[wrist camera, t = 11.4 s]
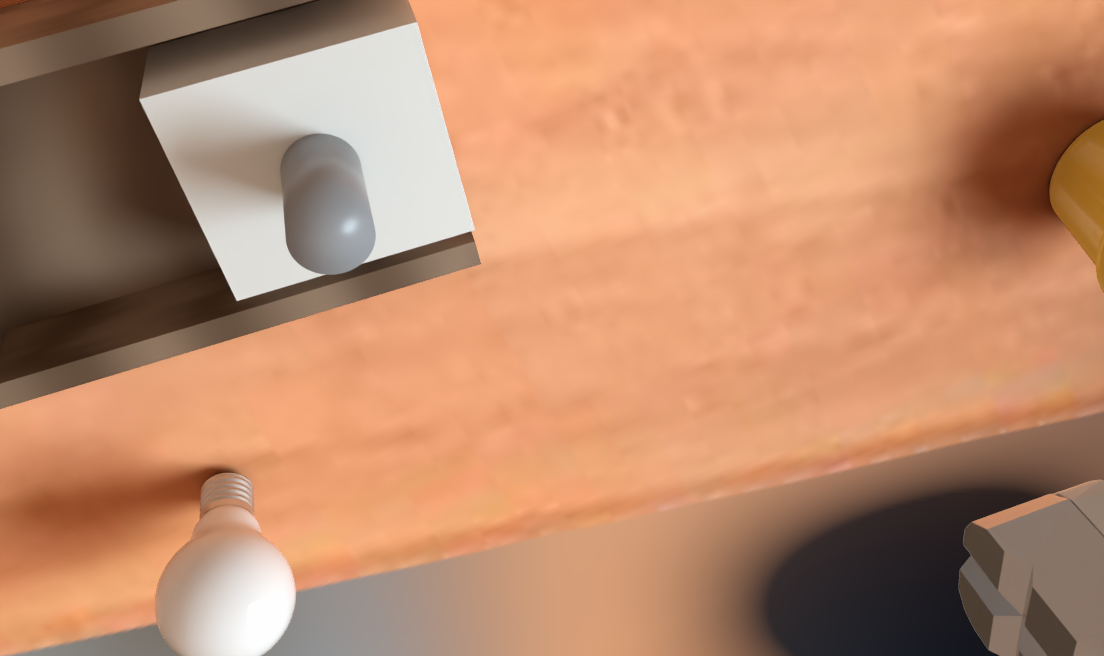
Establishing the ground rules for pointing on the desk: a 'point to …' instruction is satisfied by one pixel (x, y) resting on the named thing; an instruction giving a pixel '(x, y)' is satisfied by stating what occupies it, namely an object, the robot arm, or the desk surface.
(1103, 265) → the plant pot
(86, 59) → the bay
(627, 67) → the desk surface
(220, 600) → the lightbulb
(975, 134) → the desk surface
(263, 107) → the white box with knob
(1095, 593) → the robot arm
